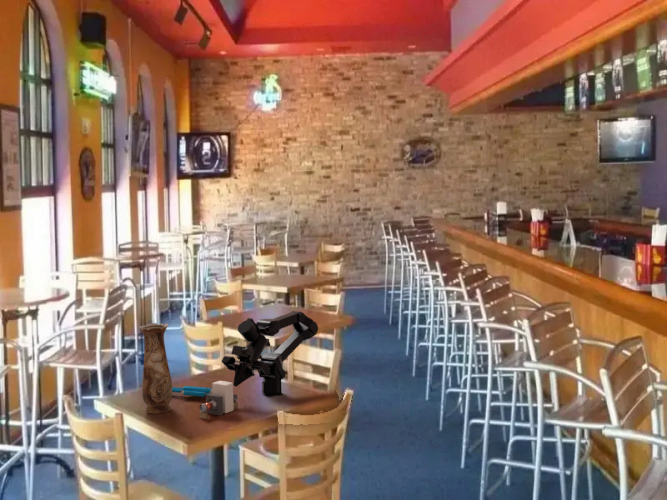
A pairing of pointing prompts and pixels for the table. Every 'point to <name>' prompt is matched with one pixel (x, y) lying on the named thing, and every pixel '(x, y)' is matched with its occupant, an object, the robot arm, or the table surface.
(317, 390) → the table surface
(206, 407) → the metal cylinder
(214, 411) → the gray square plate
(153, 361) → the vase
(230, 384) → the white block
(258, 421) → the table surface
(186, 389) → the toy
